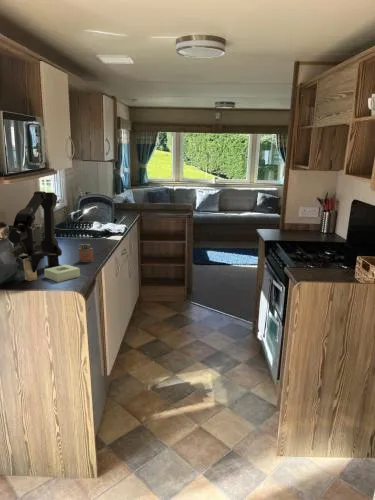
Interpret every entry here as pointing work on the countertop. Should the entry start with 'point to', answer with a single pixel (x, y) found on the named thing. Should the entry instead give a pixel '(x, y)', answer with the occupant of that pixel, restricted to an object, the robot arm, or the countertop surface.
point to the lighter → (85, 253)
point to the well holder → (62, 272)
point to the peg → (29, 271)
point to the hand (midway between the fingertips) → (30, 271)
